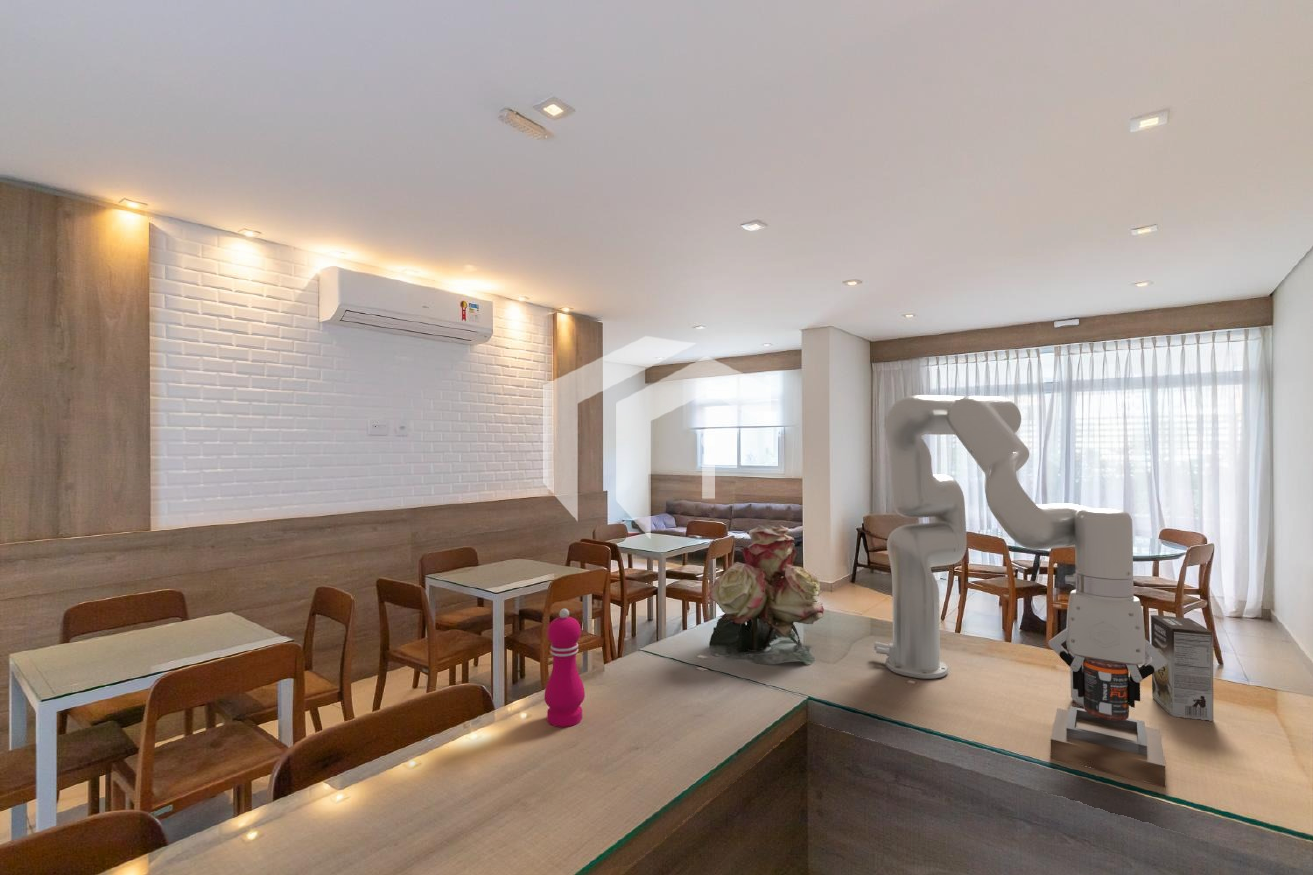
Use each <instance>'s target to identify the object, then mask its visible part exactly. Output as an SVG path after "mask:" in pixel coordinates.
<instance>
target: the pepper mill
mask: <svg viewBox="0 0 1313 875" xmlns="http://www.w3.org/2000/svg"><path fill="white" fill-rule="evenodd" d="M558 615H559V617H557V618H554V619H553V620H552V621H551V622H550V623H549V625H548V627H547V638H548V640H549V641H550V643H551V645H550V651H549V653H550V654H551V655H552V660H553V661H552V670H551V673H550V676H549V678H548V681H547V684H546V686H545V690H544V702H545V704H546V705H547V706H548V709H547V714H546V716H547V718H546V720H547V722H548V724H549V725H552V726H553V727H560V728H565V727H572V726H575V725H577V724H578V723H580V722H581V721H582V720H583V708H582V706H581V704H582V703H583V702H584V700H585V697H586V696H585V693H586V692H585V687H584V683H583V680H582V678H581V676H580V674H579V671H578V667H577V653H578V652H579V643H578V641H579V639H580V638H581V635H582V628H581V625H580V623H579V621H578V620H577V619H576V618H574V617H571V616H570V611H569V610H568V609H567V608H562V609H561V610H559V614H558Z"/></svg>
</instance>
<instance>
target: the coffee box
mask: <svg viewBox="0 0 1313 875" xmlns="http://www.w3.org/2000/svg"><path fill="white" fill-rule="evenodd" d="M1150 625H1151V626H1150V634H1151V635H1150V637H1151V638H1150V642H1151V643H1150V644H1151V645H1152V646H1154V647H1155V648H1156V649H1157V650H1158V651H1159V652H1160V653H1161V654H1162V655H1163V656H1164V657H1165V658H1166V659H1167V665H1165V666H1163V667H1162V668H1160V669H1158V670H1156V671H1155V672H1154V673H1153V674H1151V689H1152V690H1151V691H1152V692H1151V695H1152V696H1151V697H1152V699H1153V700H1154V701H1156V702H1157V704H1159V705H1160V707H1162V708H1163V709H1164V711H1166V712H1167V713H1168V714H1169V715H1170V716H1171V717H1173V718H1180V717H1185V718H1184V719H1189V718H1193V719H1192V720H1197V719H1201V720H1200V721H1205V720H1209V721H1208V722H1214V718H1215V717H1214V632H1213V631H1211V630H1210V629H1209V628H1207V627H1205V626H1203V625H1202V624H1200V623H1198V622H1197V621H1194V620H1193V619H1192V618H1190V617H1189V618H1188V617H1177V616H1170V615H1159V614H1158V615H1157V614H1151V615H1150Z"/></svg>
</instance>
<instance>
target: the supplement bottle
mask: <svg viewBox="0 0 1313 875" xmlns="http://www.w3.org/2000/svg"><path fill="white" fill-rule="evenodd" d="M1129 677H1130V672H1129V670H1128V668H1127V666H1126V664H1121V663H1115V662H1109V661H1103V660H1096V659H1090V658H1085V659H1084V661H1083V690H1084V699H1083V700H1084V707H1083V709H1085V710H1086V711H1087V712H1088V713H1089V714H1091V715H1093V716H1095V717H1098V718H1101V719H1105V720H1111V721H1123V720H1126V719H1128V718H1130V717H1129V716H1130V706H1129Z"/></svg>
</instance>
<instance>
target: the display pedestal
mask: <svg viewBox="0 0 1313 875" xmlns="http://www.w3.org/2000/svg"><path fill="white" fill-rule="evenodd" d="M1163 747H1164V746H1163V741H1162V735H1161V729H1158V728H1155V727H1150V726H1146V725H1145V720H1143V721H1142V720H1139V719H1133V718H1130V717H1128V719H1126V720H1123V721H1111V720H1105V719H1101V718H1098V717H1095V716H1093V715H1091V714H1089V713H1088V712H1087V711H1086V710H1085V709H1084V708H1080V707H1075V706H1070V707H1069V709H1063V708H1060V707H1057V708H1056V713H1055V718H1054V722H1053V725H1052V729H1051V735H1050V759H1053V760H1057V761H1061V762H1066V763H1069V764H1071V765H1072V764H1073V765H1077V766H1081V767H1084V766H1087V767H1086V768H1088V767H1091V768H1090V769H1092V768H1094V769H1093V770H1096V769H1097V770H1096V771H1100V770H1101V772H1103V773H1109V774H1113V775H1115V776H1116V775H1117V776H1120V777H1121V776H1122V777H1125V778H1128V779H1132V780H1136V781H1140V782H1143V783H1148V784H1152V785H1156V786H1160V787H1165V788H1166V785H1167V784H1166V781H1167V780H1166V762H1165V761H1166V760H1165V755H1164V748H1163Z"/></svg>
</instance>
